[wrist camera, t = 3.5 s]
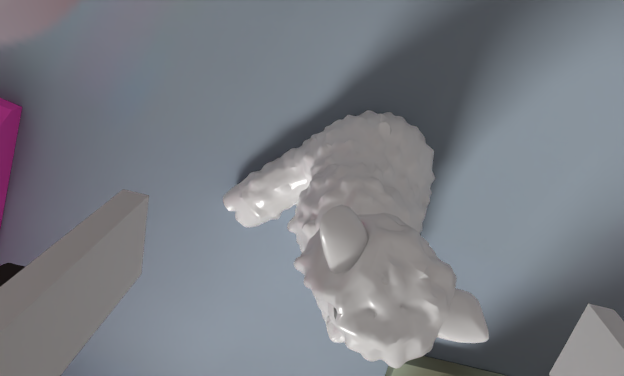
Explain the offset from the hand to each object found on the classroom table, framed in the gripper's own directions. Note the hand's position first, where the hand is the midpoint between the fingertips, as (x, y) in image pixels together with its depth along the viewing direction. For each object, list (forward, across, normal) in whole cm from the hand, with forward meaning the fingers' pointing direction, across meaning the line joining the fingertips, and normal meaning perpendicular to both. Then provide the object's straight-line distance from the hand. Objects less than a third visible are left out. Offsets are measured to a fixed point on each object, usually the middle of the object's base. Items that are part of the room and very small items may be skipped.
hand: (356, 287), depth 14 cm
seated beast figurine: (+10, 0, 0) cm, 10 cm away
